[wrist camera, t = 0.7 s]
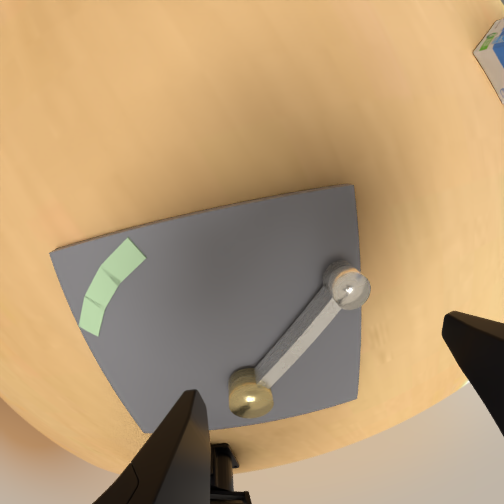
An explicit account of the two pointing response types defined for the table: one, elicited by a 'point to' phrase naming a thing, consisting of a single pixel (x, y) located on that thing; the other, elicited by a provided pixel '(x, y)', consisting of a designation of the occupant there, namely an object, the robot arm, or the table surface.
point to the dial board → (217, 303)
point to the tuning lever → (297, 339)
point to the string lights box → (493, 56)
